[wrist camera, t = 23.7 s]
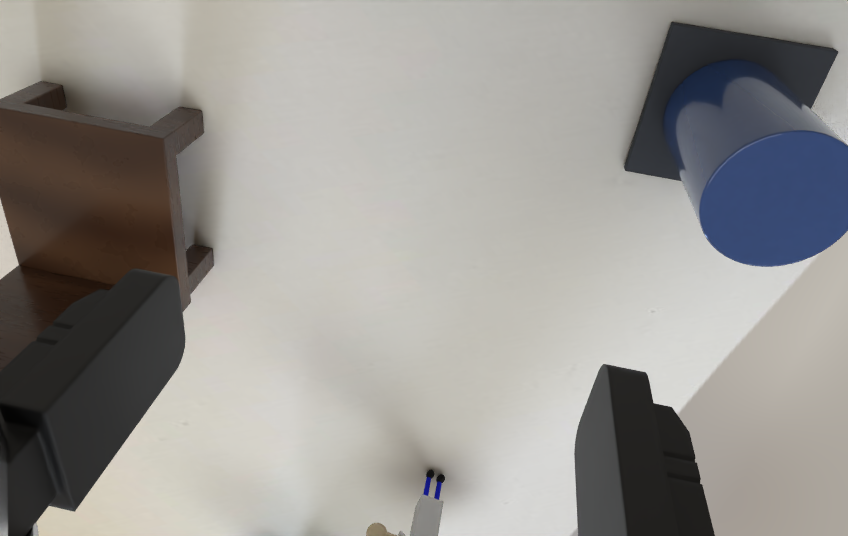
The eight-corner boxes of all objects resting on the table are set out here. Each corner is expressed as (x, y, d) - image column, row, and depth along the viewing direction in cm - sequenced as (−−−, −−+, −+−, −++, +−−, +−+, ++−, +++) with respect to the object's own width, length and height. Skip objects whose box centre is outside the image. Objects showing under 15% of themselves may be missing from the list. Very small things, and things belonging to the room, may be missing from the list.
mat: (671, 21, 32) (673, 24, 31) (834, 48, 31) (839, 51, 31) (623, 166, 36) (624, 170, 36) (765, 192, 36) (768, 197, 35)
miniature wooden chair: (35, 75, 39) (-206, 180, 27) (206, 107, 38) (41, 229, 26) (71, 240, 46) (-108, 385, 33) (217, 269, 45) (90, 429, 33)
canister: (638, 125, 34) (666, 211, 26) (729, 33, 31) (795, 98, 23) (716, 190, 36) (768, 291, 27) (812, 108, 32) (903, 195, 24)
